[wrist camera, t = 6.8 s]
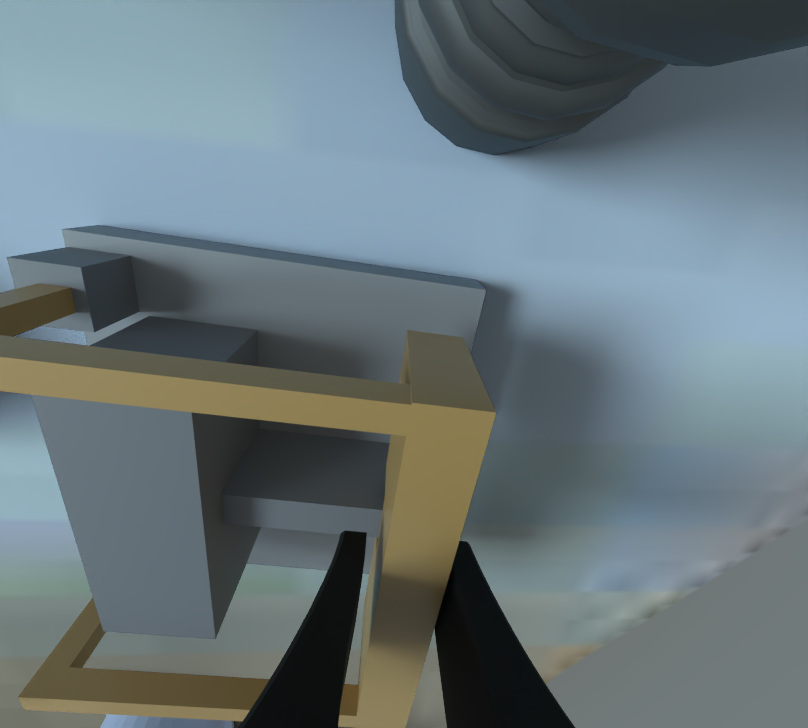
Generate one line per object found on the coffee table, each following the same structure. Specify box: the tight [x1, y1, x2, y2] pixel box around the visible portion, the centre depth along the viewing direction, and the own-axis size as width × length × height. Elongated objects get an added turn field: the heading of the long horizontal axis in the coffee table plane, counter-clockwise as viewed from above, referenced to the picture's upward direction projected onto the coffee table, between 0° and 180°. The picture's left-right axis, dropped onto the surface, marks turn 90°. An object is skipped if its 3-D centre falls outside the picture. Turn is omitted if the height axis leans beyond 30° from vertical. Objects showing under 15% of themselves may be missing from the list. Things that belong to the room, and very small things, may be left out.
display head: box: [7, 225, 486, 639], centre depth 13 cm, size 13×14×6 cm
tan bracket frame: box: [0, 283, 496, 728], centre depth 11 cm, size 11×12×4 cm
